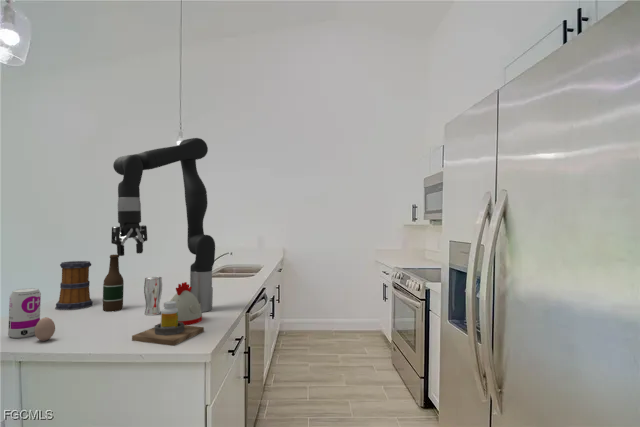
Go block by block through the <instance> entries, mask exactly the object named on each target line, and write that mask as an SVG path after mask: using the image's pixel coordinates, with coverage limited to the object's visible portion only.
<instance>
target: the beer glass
mask: <svg viewBox="0 0 640 427" xmlns="http://www.w3.org/2000/svg"><path fill="white" fill-rule="evenodd" d="M162 292H163V277H161V276H148V277H145V278H144V285H143V294H144V300H145V308H144V309H145V310H144V315H145V316H157V315H161V307H160V306H161V299H162Z"/></svg>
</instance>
